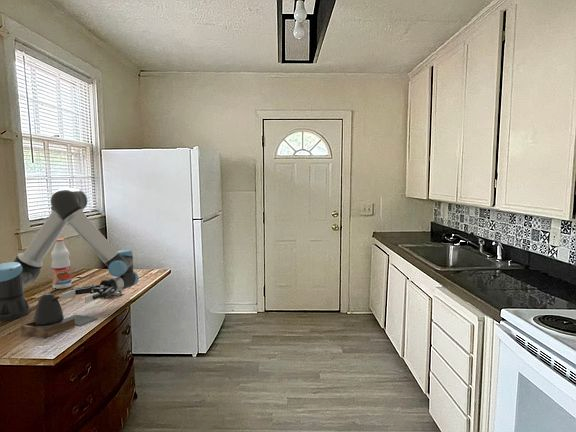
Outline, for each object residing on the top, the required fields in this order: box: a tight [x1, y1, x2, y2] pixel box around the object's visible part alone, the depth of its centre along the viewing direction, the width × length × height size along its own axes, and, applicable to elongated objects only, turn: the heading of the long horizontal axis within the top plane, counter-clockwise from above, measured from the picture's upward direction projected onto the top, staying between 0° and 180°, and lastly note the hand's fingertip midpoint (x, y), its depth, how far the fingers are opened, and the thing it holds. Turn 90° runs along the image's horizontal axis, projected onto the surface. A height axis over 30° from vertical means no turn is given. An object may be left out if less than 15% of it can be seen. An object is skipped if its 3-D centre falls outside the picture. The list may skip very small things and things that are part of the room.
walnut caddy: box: [20, 318, 76, 339], centre depth 153 cm, size 14×13×4 cm
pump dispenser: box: [33, 293, 65, 329], centre depth 153 cm, size 10×10×15 cm
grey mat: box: [63, 314, 98, 327], centre depth 164 cm, size 13×9×1 cm
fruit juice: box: [50, 238, 73, 290], centre depth 216 cm, size 9×9×28 cm
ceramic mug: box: [107, 290, 123, 298], centre depth 200 cm, size 11×8×8 cm
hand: (73, 298), depth 163 cm, fingers open, 13 cm apart
